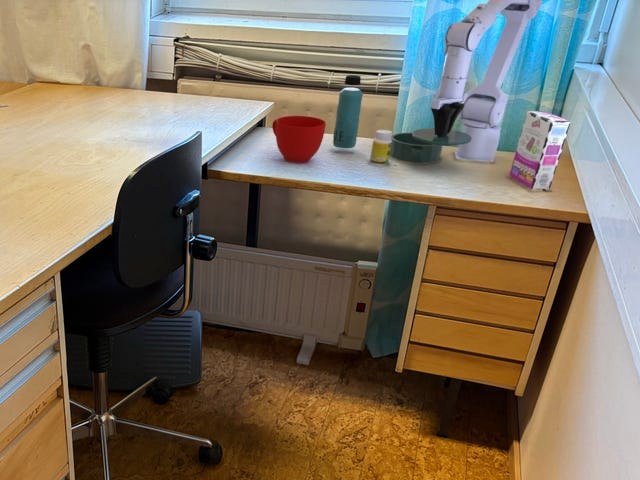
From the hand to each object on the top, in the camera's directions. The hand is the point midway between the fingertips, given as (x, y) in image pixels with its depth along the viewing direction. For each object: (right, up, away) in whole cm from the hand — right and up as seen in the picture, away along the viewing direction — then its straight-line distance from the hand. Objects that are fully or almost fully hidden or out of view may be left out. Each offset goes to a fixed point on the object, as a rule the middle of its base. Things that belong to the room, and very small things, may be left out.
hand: (442, 134), depth 178 cm
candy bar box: (+20, -14, -4) cm, 24 cm away
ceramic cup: (-35, -2, +15) cm, 38 cm away
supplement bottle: (-13, -5, +10) cm, 17 cm away
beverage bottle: (-20, +2, +21) cm, 29 cm away
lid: (0, -1, 0) cm, 1 cm away
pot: (-2, -2, +15) cm, 15 cm away
